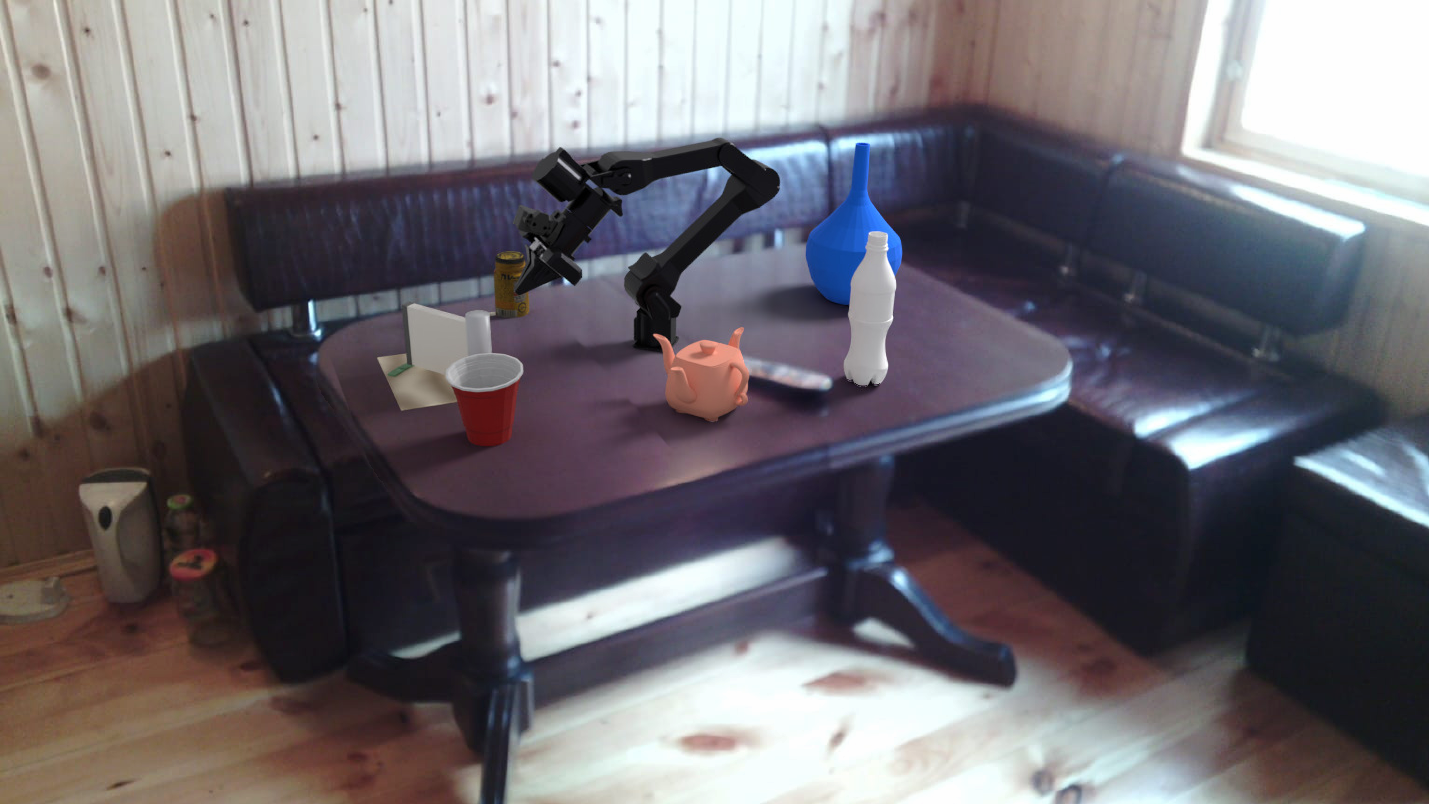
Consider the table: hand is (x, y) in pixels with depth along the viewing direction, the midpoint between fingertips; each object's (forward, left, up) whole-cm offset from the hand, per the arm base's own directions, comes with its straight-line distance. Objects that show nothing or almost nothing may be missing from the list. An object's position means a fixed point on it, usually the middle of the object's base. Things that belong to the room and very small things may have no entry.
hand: (516, 293), depth 187 cm
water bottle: (-56, -13, -13) cm, 58 cm away
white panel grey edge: (+7, +12, -11) cm, 17 cm away
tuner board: (+9, +11, -12) cm, 19 cm away
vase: (-47, -51, -13) cm, 70 cm away
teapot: (-33, +5, -13) cm, 35 cm away
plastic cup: (-8, +27, -13) cm, 31 cm away
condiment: (+9, -18, -13) cm, 24 cm away
